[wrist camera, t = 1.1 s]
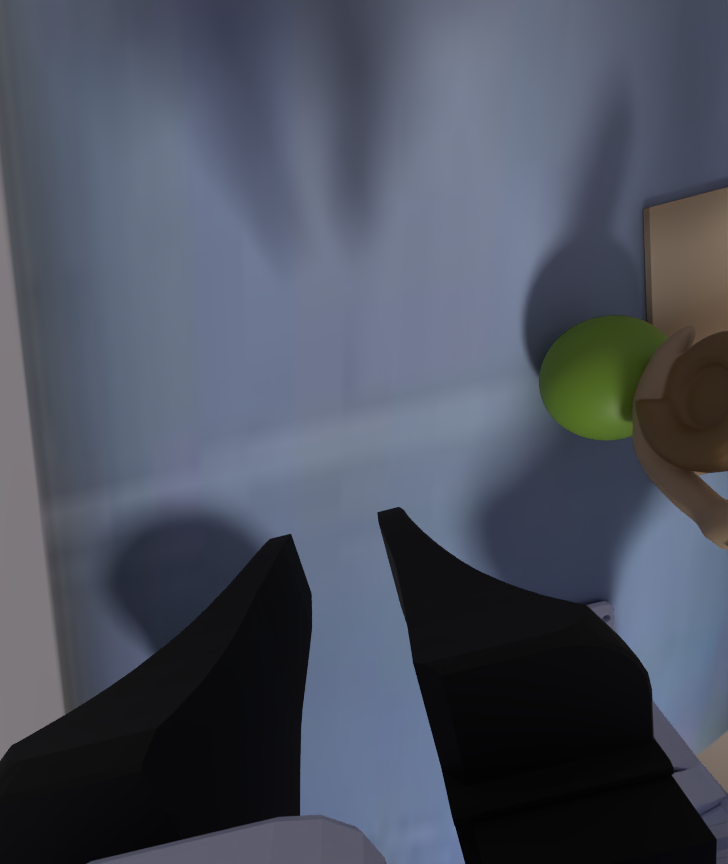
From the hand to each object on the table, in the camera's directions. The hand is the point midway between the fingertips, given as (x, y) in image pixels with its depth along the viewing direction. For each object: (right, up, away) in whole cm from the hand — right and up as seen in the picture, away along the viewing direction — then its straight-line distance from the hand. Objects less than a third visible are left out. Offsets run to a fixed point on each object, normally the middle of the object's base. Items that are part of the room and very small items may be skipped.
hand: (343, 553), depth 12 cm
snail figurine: (+11, +6, +10) cm, 16 cm away
